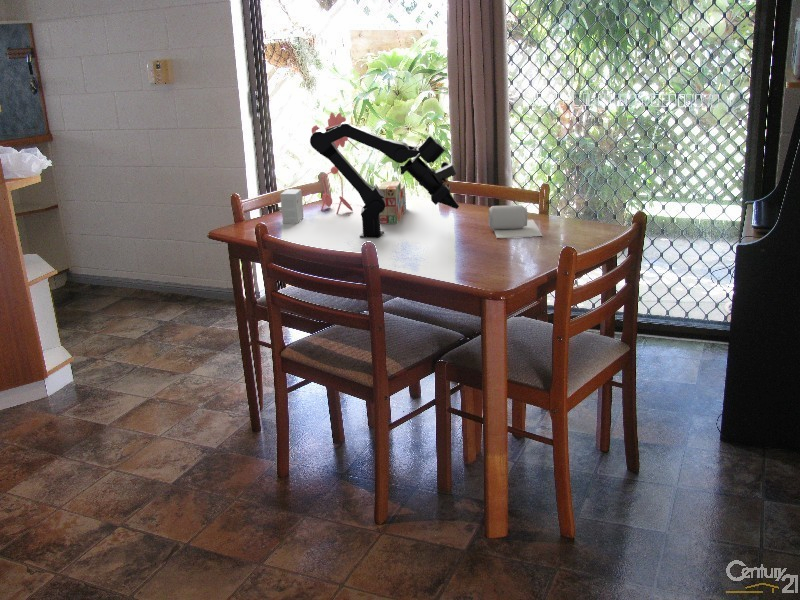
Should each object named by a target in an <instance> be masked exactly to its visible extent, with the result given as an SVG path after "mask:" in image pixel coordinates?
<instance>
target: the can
mask: <svg viewBox="0 0 800 600" xmlns="http://www.w3.org/2000/svg"><path fill="white" fill-rule="evenodd" d="M527 220H528V208H527V207H526V206H523V205H522V204H515V205H514V204H513V205H492V206H491V207H489V208H488V227H489V228H490V230H493V231H494V229H522V228H523V227H524V226H527Z"/></svg>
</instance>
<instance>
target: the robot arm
mask: <svg viewBox="0 0 800 600" xmlns="http://www.w3.org/2000/svg"><path fill="white" fill-rule="evenodd" d="M342 137H348V139H351V140H353V141H356V142H358V143H360V144H363V145H366V146H367V147H370V148H372V149H374V150H377V151H380V152H381V153H382V154H384V155H385V156H386V157H388V158H389V159H391V160H392V161H394V162H395V163H397V164H400V165H399V168H400V175H401V176H402V175H404V174H405V173H406V172H407V173H408V174H409V175H410V176H411V177H413V179H414V180H415V181H416V182H417V183H418V185H419V186H420V187H423V188H424V189H425V190H426V191H427V193H428V194H429V195H430V201H431V202H432V203H433V204H434V205H435V206H436V205H438V204H439V203H440V204H442V205H444V206H448V207H450V208H453V209H458V208H459V207H460V206H459V204H458V202H457V201H456V200H455V198H454V196H453V195H452V193H451V188H450V184H445V183H447V182H448V178H451V177H454V176H456V175H457V172H456V169H455V166H454V165H453V163H452V162H450V163H448V162H447V161H443V162H442V163H440V167H439V168H438V169H436V170H435V169H434V168H433V167H432V168H431V167H430V166H429V165H428V164H434V163H435V162H436V161H437V160H438V159H439V158H440V157H441V156H442V155H443V154H444V153H445V151H446V149H445V147H444V146H443V145H442V144H441V143H440V142H439V141H438V140H436V139H434V137H432V136H431V135H428V136H427V137H426V138H425V140H424V141H423V143H422V144H421V145H419V146H412V145H408V144H407V143H406V142H403V141H401V140H400V141H399V140H395V139H390V138H389V139H388V138H385V137H381V136H380V135H377V134H374V133H372V132H370V131H368V130H365V129H363V128H360V127H358V126H355V125H353V124H351V123H350V122H347V121H345V122H343V123H341V124H339V125H337V126H334V127H331V128H329V129H326V130H325V128H320V129H318V130H316V131H315V132H314V133H313V134H311V135H310V139H309V144H310V146H311V148H312V149H313V150H315V151H316V152H317V153H318V154H320V155H321V156H323V157H325V159H327V160H329V161H330V162H331V164H333V167H334V166H335V167H336V168H337V169H338V172H339V173H341V175H342V176H343V177H344V178H345V179H346V180H347V181H348V182H349V184H351V186H352V187H353V188H354V189H355V190H356V192H358V194H359V196H360V198H361V199H362V202H363V204H364V206H363V207H361V211H360V216H361V221H362V223H361V224H362V233H361V234H360V235H359V238H366V239H367V238H370V239H379V238H380V237H381V236H383V234H385V231H381V224H380V216H379V214H380V213H381V212H383V210H384V209H385V201H386V200H385V197H384V192H382V191H381V190H380V189H379V186H378V185H377V184H376V183H375V185H373V186H372V185H371V184H369V183H368V182H367V181H366V180H365V179H364V178H363V176H362V175H361V174H360V173H359V172H358V171H357V169H355V167H354V166H353V165H352V164H351V163H350V161H348V159H346V157H345V156H344V155H343V154H342V153H341V151H339V149H338V148H337V147H336V145H335V143H334V141H336V140H338V139H340V138H342ZM412 158H413V159H412ZM423 160H424V161H423ZM425 162H426V163H425ZM403 163H405V164H403Z"/></svg>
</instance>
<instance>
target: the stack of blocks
mask: <svg viewBox="0 0 800 600" xmlns="http://www.w3.org/2000/svg"><path fill="white" fill-rule="evenodd" d="M401 182H402V181H400V180H396V181H394V180H393V181H387V180H386V181H383V182H382V183H381V184H380V185H379V186H378V188H379V189H380V190H381V191H382V192H384V197H385V200H386V201H385V209H384V210H383V212H381V213H380V214H379V216H380V225H385V224H386V225H387V224H393V225H395V224H398V223H399V221H400V220H401V218H402V217H403V215H404V213H405V212H406V210H407V203H406V200H407V198H406V186H405V184H401Z"/></svg>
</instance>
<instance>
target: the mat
mask: <svg viewBox="0 0 800 600" xmlns="http://www.w3.org/2000/svg"><path fill="white" fill-rule="evenodd" d="M493 232H494V234H495V237H496V239H497V238H507V239H515V238H514V237H530V236H542V237H543V233H541V230H540V229H539V226H538V225H537V224H536V222H535V221H534V219H527V226H524V227H523V228H522V229H494V230H493Z"/></svg>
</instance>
